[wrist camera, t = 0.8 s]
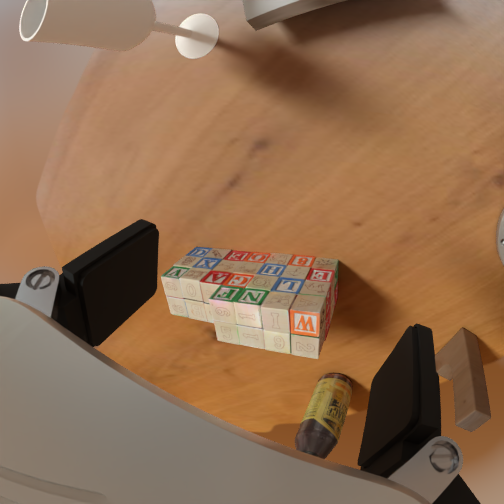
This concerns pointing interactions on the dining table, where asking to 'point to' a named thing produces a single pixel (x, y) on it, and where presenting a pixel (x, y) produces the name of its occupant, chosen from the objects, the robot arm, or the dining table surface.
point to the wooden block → (465, 379)
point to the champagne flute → (112, 25)
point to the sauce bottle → (324, 416)
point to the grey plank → (279, 10)
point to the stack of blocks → (257, 297)
